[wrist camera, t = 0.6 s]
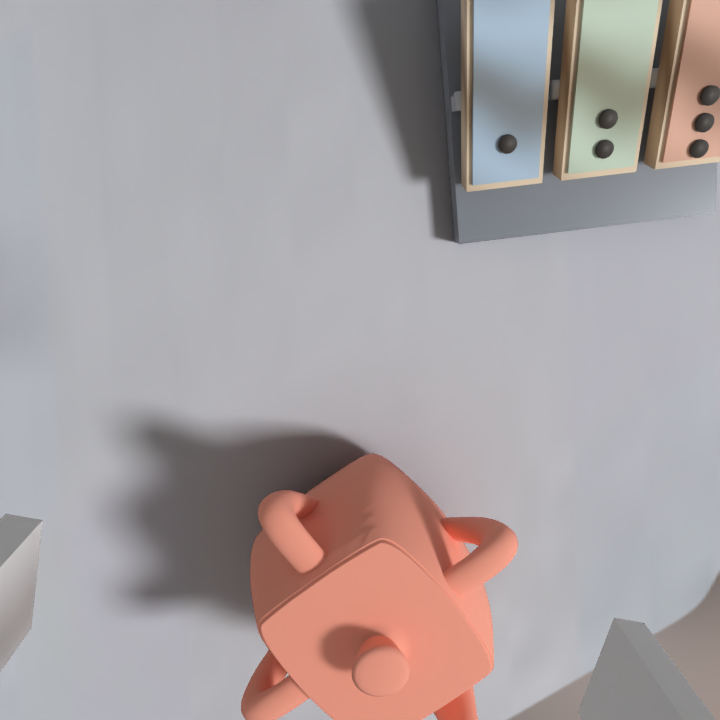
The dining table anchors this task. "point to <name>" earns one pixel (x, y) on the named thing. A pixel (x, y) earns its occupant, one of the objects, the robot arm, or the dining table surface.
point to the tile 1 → (504, 91)
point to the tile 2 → (604, 86)
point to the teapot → (371, 599)
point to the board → (553, 197)
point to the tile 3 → (687, 88)
